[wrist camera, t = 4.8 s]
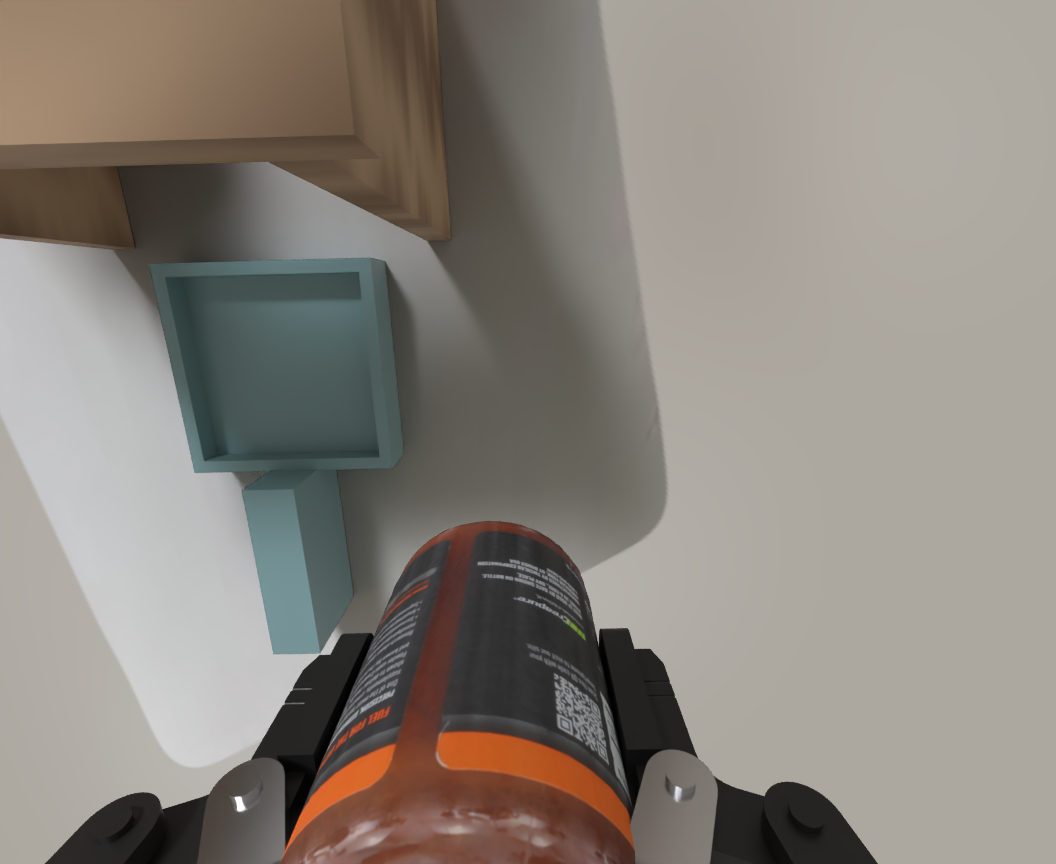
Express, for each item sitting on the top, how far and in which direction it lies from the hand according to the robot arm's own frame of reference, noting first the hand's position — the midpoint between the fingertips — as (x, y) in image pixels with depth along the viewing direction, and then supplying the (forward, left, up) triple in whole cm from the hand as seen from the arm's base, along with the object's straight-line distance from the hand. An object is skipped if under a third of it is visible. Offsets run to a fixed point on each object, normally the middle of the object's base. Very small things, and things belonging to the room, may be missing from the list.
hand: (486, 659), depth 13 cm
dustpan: (-1, -11, -15) cm, 19 cm away
